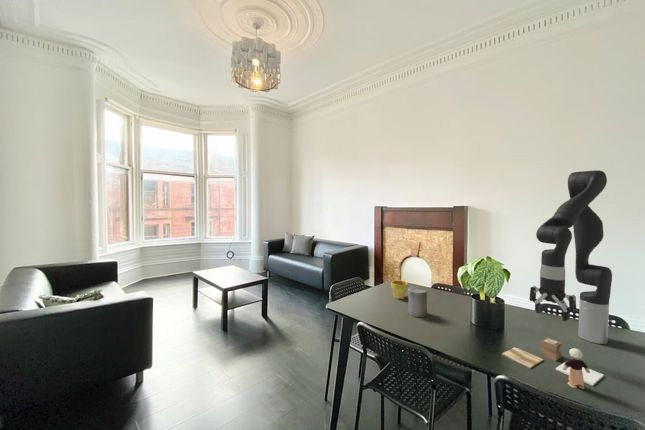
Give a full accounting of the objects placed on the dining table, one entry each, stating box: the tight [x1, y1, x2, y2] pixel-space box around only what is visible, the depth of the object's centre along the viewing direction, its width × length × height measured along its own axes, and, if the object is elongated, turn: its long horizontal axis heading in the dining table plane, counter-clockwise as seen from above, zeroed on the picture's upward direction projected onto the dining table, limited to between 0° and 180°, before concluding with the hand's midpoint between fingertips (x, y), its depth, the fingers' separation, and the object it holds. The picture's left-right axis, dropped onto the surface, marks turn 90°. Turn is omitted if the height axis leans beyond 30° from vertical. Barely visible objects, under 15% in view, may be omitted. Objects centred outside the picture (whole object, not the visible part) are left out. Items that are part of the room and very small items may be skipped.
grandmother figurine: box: [563, 347, 590, 390], centre depth 90 cm, size 8×4×13 cm, turn 92°
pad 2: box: [555, 359, 605, 387], centre depth 97 cm, size 10×10×1 cm
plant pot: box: [390, 279, 409, 300], centre depth 175 cm, size 10×10×10 cm
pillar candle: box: [407, 286, 428, 318], centre depth 149 cm, size 10×10×15 cm
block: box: [539, 337, 563, 362], centre depth 108 cm, size 5×5×6 cm
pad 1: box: [501, 346, 544, 369], centre depth 107 cm, size 10×10×1 cm
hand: (551, 316), depth 107 cm, fingers open, 8 cm apart
